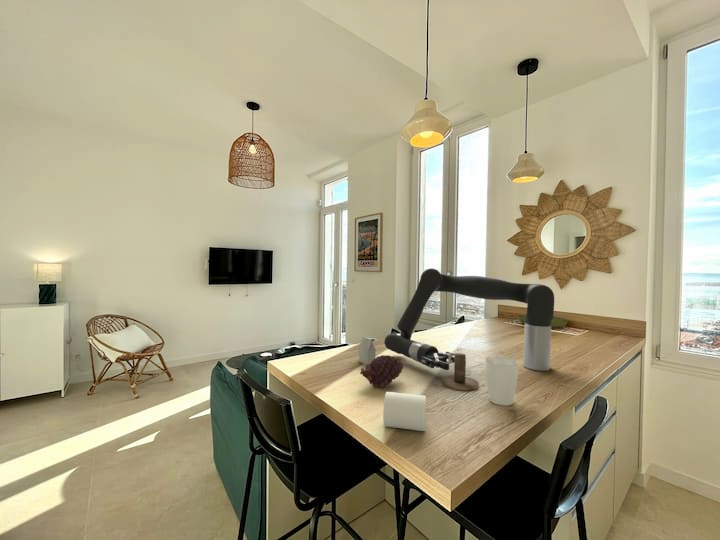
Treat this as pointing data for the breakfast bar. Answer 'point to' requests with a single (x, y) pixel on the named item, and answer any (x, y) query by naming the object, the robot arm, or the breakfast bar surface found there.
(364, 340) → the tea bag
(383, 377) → the pine cone
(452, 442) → the breakfast bar surface
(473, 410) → the breakfast bar surface
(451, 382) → the lid
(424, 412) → the white rounded block
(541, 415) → the breakfast bar surface
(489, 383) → the cup
